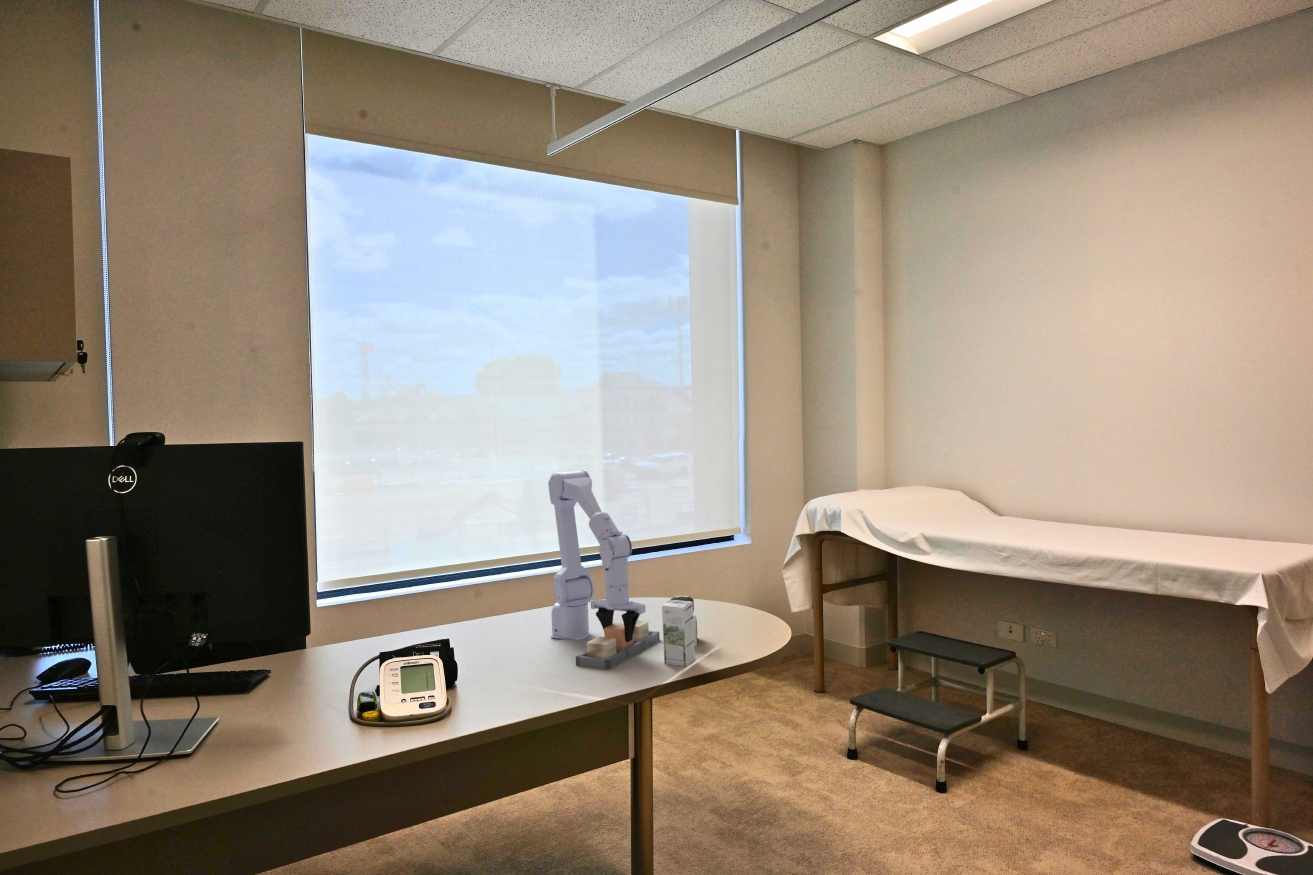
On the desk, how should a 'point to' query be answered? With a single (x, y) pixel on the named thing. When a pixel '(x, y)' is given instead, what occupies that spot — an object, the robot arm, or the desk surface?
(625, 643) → the terracotta block
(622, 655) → the organiser tray
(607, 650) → the ash block near
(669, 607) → the syrup box
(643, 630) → the ash block far
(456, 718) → the desk surface
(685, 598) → the medicine bottle
